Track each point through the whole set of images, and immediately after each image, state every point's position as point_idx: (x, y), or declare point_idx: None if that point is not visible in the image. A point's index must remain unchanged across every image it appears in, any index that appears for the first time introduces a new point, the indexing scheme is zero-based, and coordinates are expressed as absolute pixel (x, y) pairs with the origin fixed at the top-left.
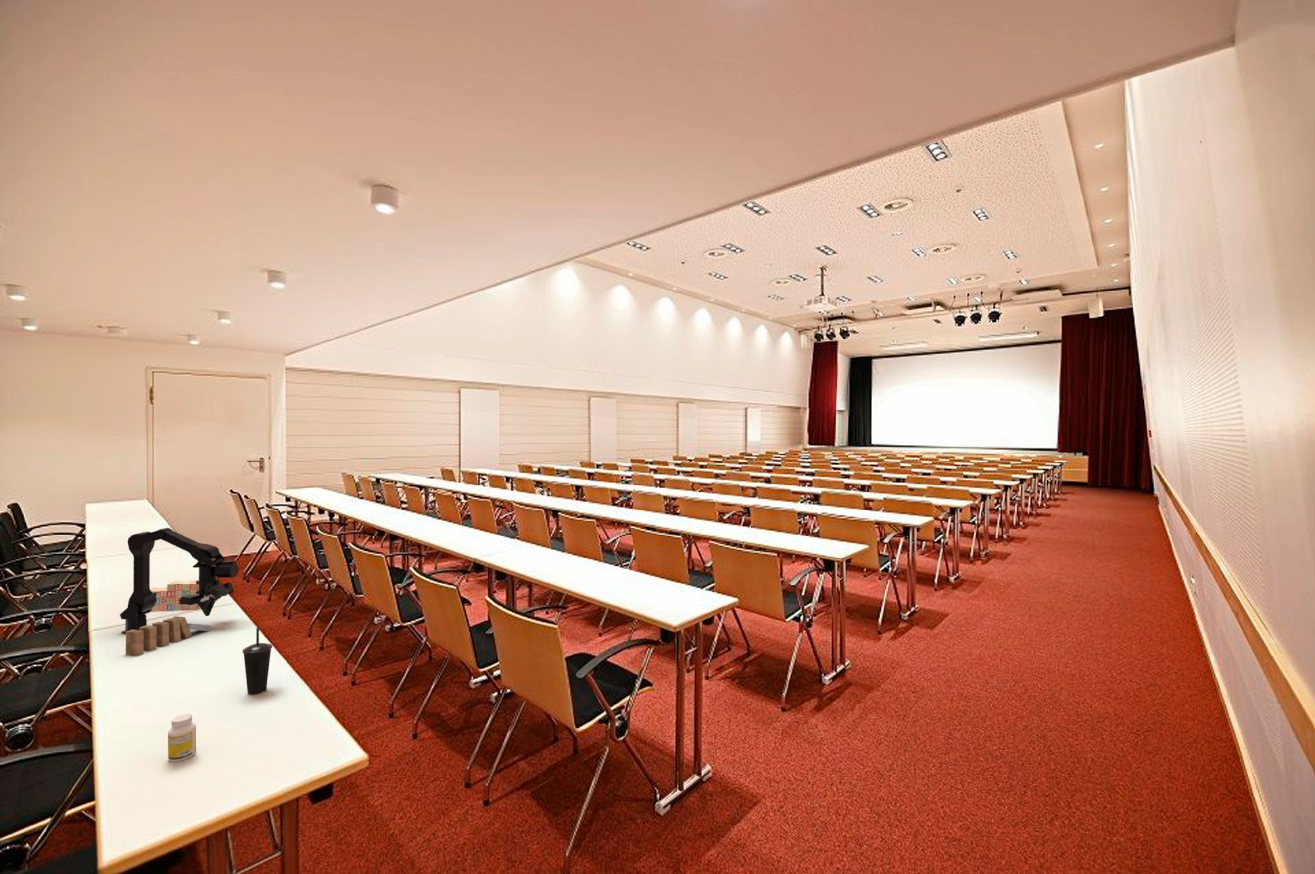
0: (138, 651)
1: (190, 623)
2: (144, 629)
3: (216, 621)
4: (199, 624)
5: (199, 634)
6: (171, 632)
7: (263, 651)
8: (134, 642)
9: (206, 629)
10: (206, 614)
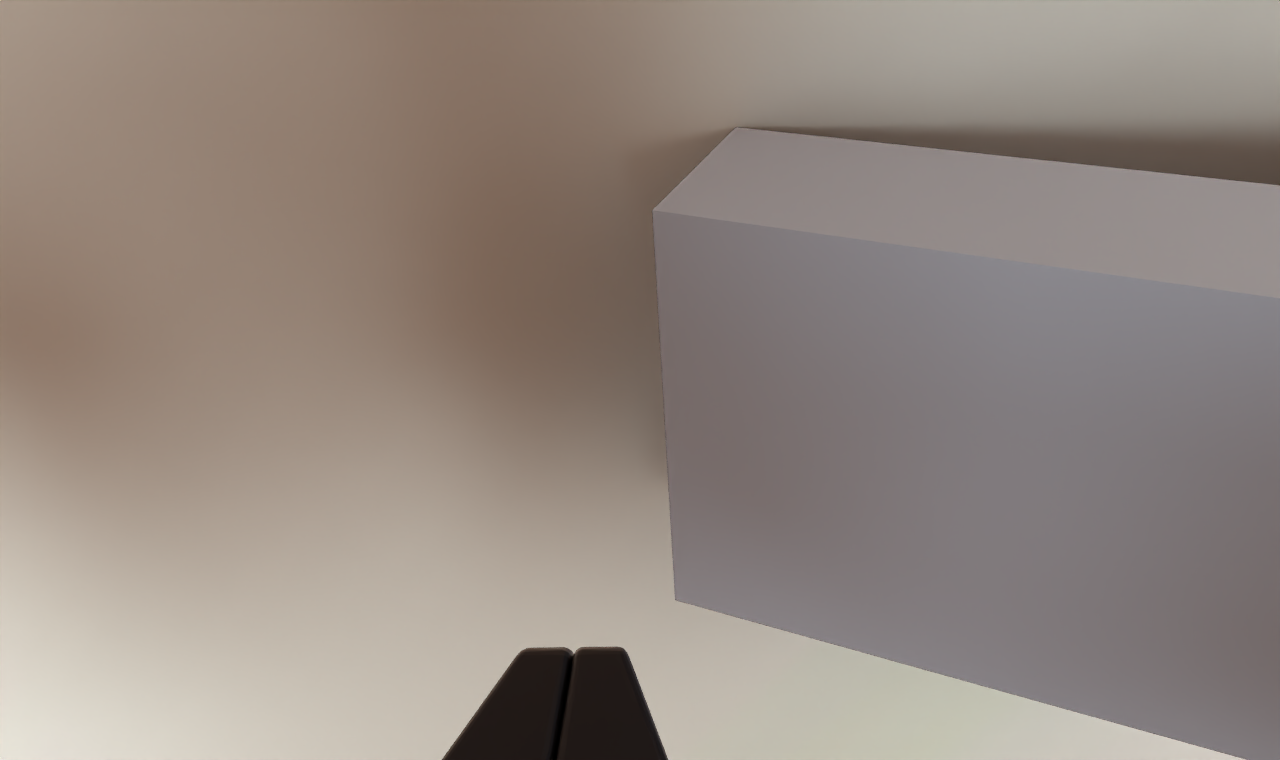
0: None
1: (1094, 713)
2: None
3: (69, 654)
4: (1260, 295)
5: (1121, 97)
6: None
7: None
8: None
9: (838, 161)
10: (648, 736)
